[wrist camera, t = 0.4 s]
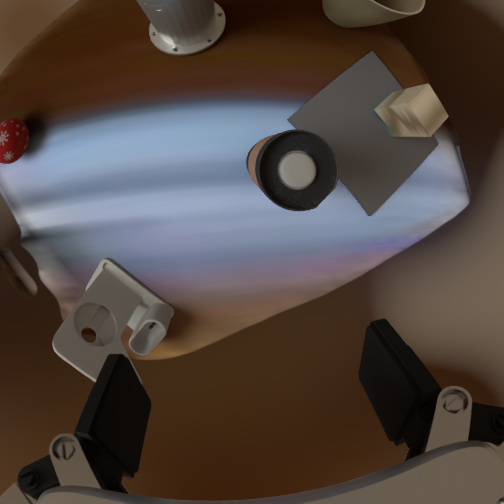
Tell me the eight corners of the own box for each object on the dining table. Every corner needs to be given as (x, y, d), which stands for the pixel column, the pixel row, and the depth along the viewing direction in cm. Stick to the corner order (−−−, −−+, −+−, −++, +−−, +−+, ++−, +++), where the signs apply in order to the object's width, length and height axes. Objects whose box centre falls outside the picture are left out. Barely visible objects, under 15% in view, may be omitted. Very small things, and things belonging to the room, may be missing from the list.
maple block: (371, 109, 39) (408, 102, 28) (391, 92, 38) (428, 83, 27) (391, 136, 40) (430, 137, 30) (409, 118, 39) (448, 116, 29)
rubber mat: (287, 119, 39) (287, 119, 39) (370, 51, 35) (372, 50, 35) (368, 215, 46) (369, 216, 45) (436, 144, 42) (438, 144, 41)
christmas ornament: (26, 168, 37) (-7, 176, 28) (5, 149, 35) (-26, 154, 25) (43, 129, 35) (10, 129, 26) (21, 112, 33) (-11, 111, 23)
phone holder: (178, 311, 50) (161, 379, 33) (152, 340, 52) (131, 406, 35) (105, 254, 45) (56, 305, 28) (84, 290, 47) (41, 344, 30)
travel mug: (243, 139, 40) (255, 127, 21) (292, 138, 41) (340, 130, 22) (245, 186, 43) (257, 214, 24) (292, 185, 43) (338, 212, 25)
